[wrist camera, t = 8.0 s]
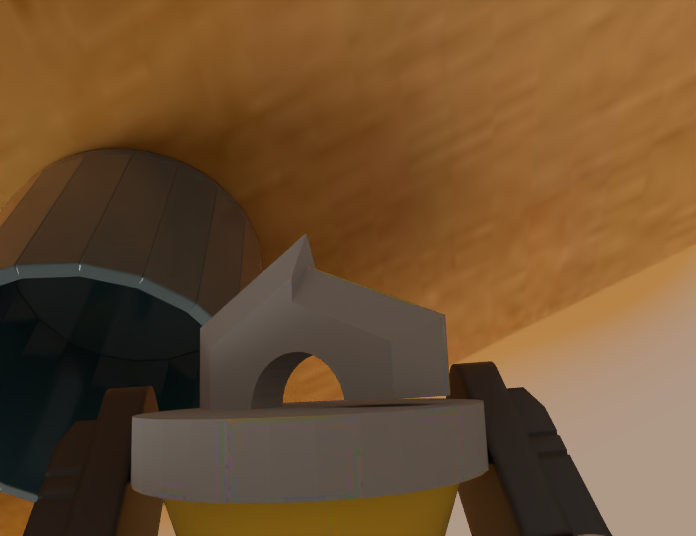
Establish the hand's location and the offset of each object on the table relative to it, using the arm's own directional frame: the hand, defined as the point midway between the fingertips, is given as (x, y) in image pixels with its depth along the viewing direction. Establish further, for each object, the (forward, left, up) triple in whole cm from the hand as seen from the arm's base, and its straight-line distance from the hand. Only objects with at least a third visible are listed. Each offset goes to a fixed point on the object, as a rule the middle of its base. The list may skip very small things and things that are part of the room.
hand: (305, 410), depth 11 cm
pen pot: (-7, -7, -17) cm, 20 cm away
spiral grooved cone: (+1, 0, -1) cm, 1 cm away
